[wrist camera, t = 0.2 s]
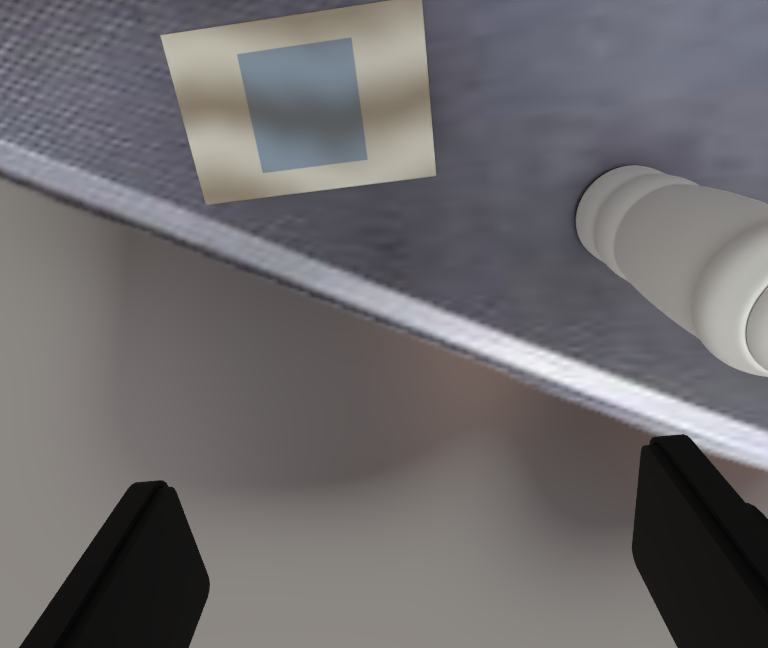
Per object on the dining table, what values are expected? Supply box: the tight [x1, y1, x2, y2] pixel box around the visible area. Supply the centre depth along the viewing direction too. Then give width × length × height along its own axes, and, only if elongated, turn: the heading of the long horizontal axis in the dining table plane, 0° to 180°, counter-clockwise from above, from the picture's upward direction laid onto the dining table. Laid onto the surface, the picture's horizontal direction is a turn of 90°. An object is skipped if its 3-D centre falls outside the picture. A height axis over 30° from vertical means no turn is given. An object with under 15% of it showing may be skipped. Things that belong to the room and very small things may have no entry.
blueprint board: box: [160, 0, 436, 205], centre depth 35 cm, size 11×17×1 cm, turn 97°
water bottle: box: [576, 165, 768, 377], centre depth 27 cm, size 7×7×25 cm
